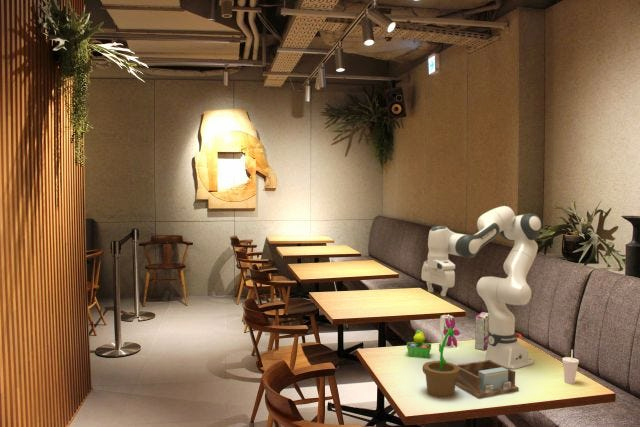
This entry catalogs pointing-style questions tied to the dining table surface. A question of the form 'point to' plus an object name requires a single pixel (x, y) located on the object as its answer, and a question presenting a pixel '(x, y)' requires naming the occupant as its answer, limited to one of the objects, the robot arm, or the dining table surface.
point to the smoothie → (570, 368)
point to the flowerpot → (443, 368)
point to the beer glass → (443, 326)
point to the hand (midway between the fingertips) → (436, 293)
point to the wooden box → (471, 381)
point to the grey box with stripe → (493, 378)
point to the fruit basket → (419, 346)
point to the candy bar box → (481, 331)
